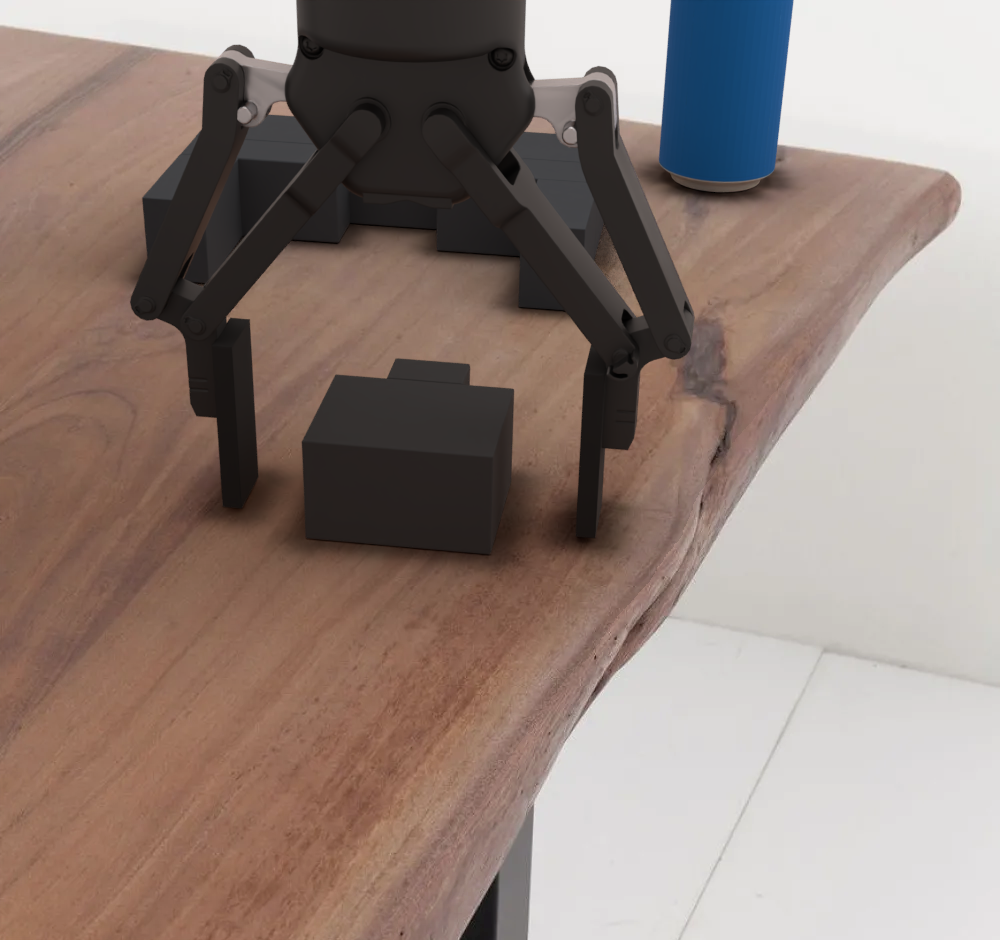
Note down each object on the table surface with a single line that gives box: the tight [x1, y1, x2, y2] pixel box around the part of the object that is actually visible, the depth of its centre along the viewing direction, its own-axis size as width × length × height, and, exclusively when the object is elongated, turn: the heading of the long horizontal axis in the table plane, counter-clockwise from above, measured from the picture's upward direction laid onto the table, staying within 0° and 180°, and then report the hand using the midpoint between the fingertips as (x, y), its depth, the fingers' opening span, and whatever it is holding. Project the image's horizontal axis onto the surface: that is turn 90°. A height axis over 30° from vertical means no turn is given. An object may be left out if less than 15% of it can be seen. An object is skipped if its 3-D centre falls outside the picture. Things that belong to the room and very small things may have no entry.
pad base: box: [141, 114, 605, 311], centre depth 94 cm, size 21×14×4 cm, turn 82°
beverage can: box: [658, 0, 795, 193], centre depth 102 cm, size 6×6×12 cm
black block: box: [301, 357, 515, 555], centre depth 72 cm, size 7×8×4 cm
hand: (413, 507), depth 72 cm, fingers open, 13 cm apart
